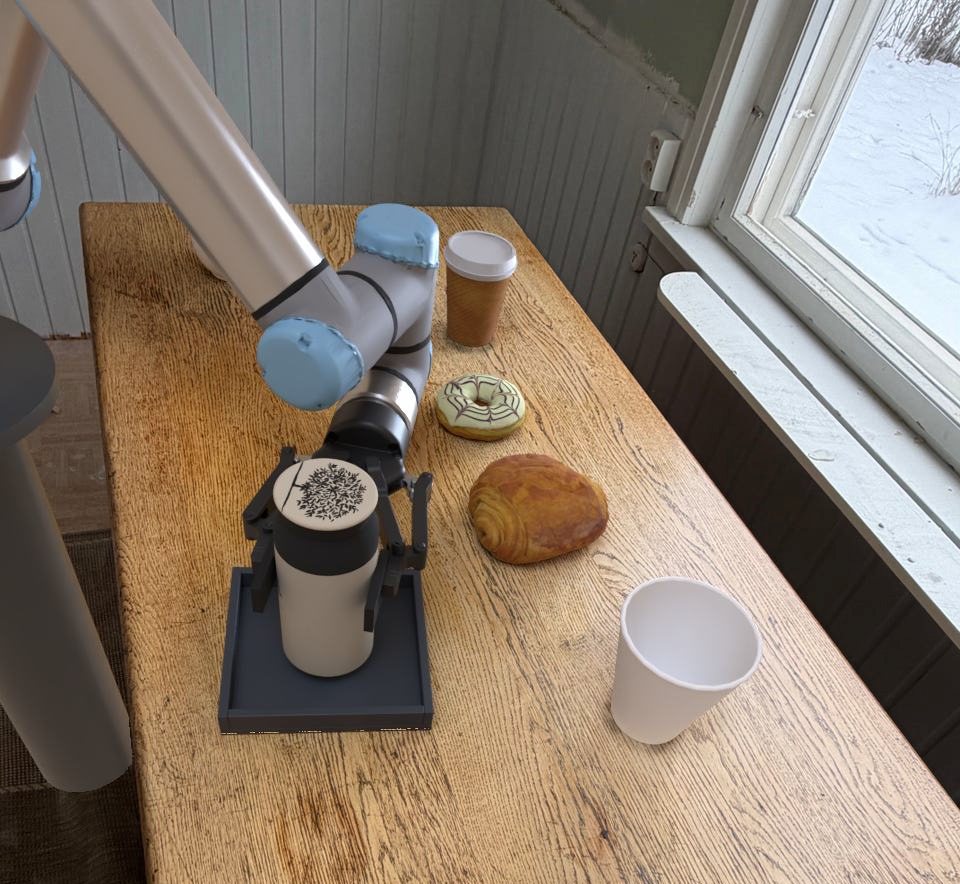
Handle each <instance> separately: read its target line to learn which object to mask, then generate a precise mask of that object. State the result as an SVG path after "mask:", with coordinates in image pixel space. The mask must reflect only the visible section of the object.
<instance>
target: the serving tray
mask: <svg viewBox="0 0 960 884" xmlns="http://www.w3.org/2000/svg"><path fill="white" fill-rule="evenodd" d="M255 575H256V573H253V571H252V566H232V567H231V576H230V577H231V578H230V587H229V597H228V607H227V617H226V619H227V620H226V625H225V626H226V627H225V638H224V647H223V657H222V667H221V668H222V669H221V675H220V677H221V678H220V685H219V686H220V687H219V695H218V696H219V697H218V706H217V715H216V718H217V722H218V726H219V731H220V735H221V736H230V735H231V736H232V735H233V736H234V735H237V736H238V735H270V734H271V735H274V734H275V735H276V734H279V735H280V734H313V733H314V734H318V733H320V734H321V733H322V734H323V733H357V732H359V733H360V732H397V731H398V732H399V731H401V732H403V731H430V730H432V726H433V725H432V724H433V721H434V720H433V719H434V712H435V710H434V700H433V690H432V679H431V677H432V676H431V669H430V657H429V646H428V636H427V635H428V634H427V625H426V624H427V623H426V615H425V603H424V592H423V591H424V590H423V582H422V581H423V580H422V571H417V570H414V569H413V568H406V569H404V570H403V571H402V574H401V578H400V582H399V587H398V591H397V594H396V595H395V596H394V598H391V597H386V596H382V599H381V603H380V607H379V611H378V615H377V619H376V623H375V627H374V637H373V648H372V651H371V653H370V655H369V657H368V658H367V660H366V661H365V662H364V663H363V664H362V665H361V666H359V667H358V668H357V669H355V670H353V671H351V672H349V673H346V674H343V675H339V676H331V677H324V676H316V675H312V674H309V673H306V672H304V671H302V670H300V669H299V668H297V667H296V666H295V665H294V664H292V663H291V661H290V660H289V659H288V658H287V656H286V654H285V652H284V648H283V641H282V630H281V618H280V607H279V595H278V584H277V577H276V580H275V582H274V585H273V588H272V590H271V593H270V595H269V598H268V601H267V603H266V606H265V609H264V611H263V613H257V612H253V607H252V599H251V592H250V588H251V585H252V583H253V580H254V578H255ZM397 728H398V729H400V728H401V729H406V730H381V729H397ZM407 728H411V729H407ZM415 728H418V729H415ZM424 728H426V729H424ZM428 728H429V729H428ZM430 728H431V729H430ZM356 730H357V731H356ZM360 730H364V731H360ZM299 731H300V732H299ZM302 731H303V732H302ZM304 731H306V732H304ZM307 731H321V732H307ZM250 732H255V733H250ZM259 732H260V733H259ZM261 732H263V733H261ZM264 732H279V733H264ZM221 733H226V734H221ZM227 733H237V734H227Z"/></svg>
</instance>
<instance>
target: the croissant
mask: <svg viewBox="0 0 960 884" xmlns="http://www.w3.org/2000/svg"><path fill="white" fill-rule="evenodd" d="M468 495H469V500H468V503H467V509H468V510H469V512H470V516H471V519H472V520H473V521H472V523H473V528H474V529H473V530H474V533H475V534H476V537H477V539H478V540H479V542H480V544H481V546H483V547H484V548H486V550H487V551H488V552H489V553H490V554H492V556H493V558H495V559H498V560H500V561H501V562H505V563H508V564H512V565H516V564H524V563H525V564H530V563H531V564H532V563H536V562H539V561H545V560H549V559H552V558H554V557H557V556H561V555H564V554H567V553H569V552H574V551H577V550H580V549H583V548H585V547H587V546H589V545H590V544H592V543H593V542H595V541H596V540H598V539H599V538H600V537H602V535H603V534H605V532H606V529H607V525H608V521H609V519H610V513H609V508H608V507H609V505H608V497H607V495H606V493H605V491H604V489H603V488H602V486H601V485H600V483H598V482H596V481H592V479H591V478H590V477H588V475H585V474H584V473H581V472H578V471H576V470H574V469H572V467H569V466H567V465H565V464H564V462H562V461H560V460H558V459H556V458H553V457H551V456H549V455H547V454H543V453H542V454H539V453H538V454H537V453H519V454H510V455H506V456H503V457H501V458H499V459H496V460H493V461H492V462H490V463H489V464H487V466H486V467H485V469H484V470H483V471H482V472H481V473H479V475H478V477H477V479H476V480H474V481H473V483H472V486H471V487H470V489H469V494H468Z"/></svg>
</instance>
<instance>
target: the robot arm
mask: <svg viewBox="0 0 960 884" xmlns="http://www.w3.org/2000/svg"><path fill="white" fill-rule="evenodd" d="M50 52H52V53H53V55H54V56H55V58H56V59H57V60H58V61H59V63H60V64H61V65H62V67H63V68H64V70H65V71H66V72H67V73H68V74H69V76H70V77H71V78H72V80H73V82H75V84H76V85H77V86H78V87H79V89H80V90H81V92H82V93H83V95H84V96H85V97H86V98H87V99H88V101H89V102H90V104H91V105H92V106H93V108H94V109H95V110H96V111H97V113H98V114H99V115H100V117H101V118H102V119H103V121H104V122H105V123H106V125H107V126H108V128H109V129H110V130H111V131H112V132H113V134H114V135H115V136H116V138H117V139H118V141H119V142H120V143H121V144H122V147H124V148H125V150H126V151H127V153H128V154H129V155H130V156H131V158H132V159H133V160H134V161H135V163H136V164H137V165H138V167H139V169H140V170H141V171H142V172H143V173H144V175H145V176H146V178H147V179H148V180H149V182H150V183H151V184H152V185H153V187H154V188H155V190H157V192H158V193H159V195H160V196H161V197H162V199H163V200H164V201H165V202H166V204H167V205H168V206H169V208H170V209H171V210H172V212H173V213H174V215H175V216H176V217H177V218H178V220H179V221H180V222H181V224H182V225H183V226H184V228H185V229H186V230H187V232H188V233H189V235H190V234H191V235H192V237H193V238H194V239H195V241H196V242H197V243H198V245H199V246H200V247H201V249H202V250H203V251H204V253H205V254H206V255H207V257H208V258H209V259H210V260H211V262H212V263H213V264H214V266H215V267H216V268H217V270H218V271H219V272H220V274H221V275H222V276H223V278H224V279H225V280H226V281H225V282H226V283H227V284H228V286H229V287H230V289H232V291H233V292H234V293H235V295H236V296H237V298H238V299H239V300H240V302H241V303H242V304H243V306H244V307H245V308H246V310H247V311H248V312H249V314H250V316H251V317H252V319H254V321H255V323H256V324H257V325H258V326H259V328H260V329H261V331H262V332H263V334H262V335H261V337H260V339H259V340H258V343H257V347H256V363H257V364H258V366H259V369H260V370H261V373H262V374H261V377H262V379H263V381H264V383H265V384H266V386H267V387H268V388H269V389H270V391H271V392H272V393H273V394H274V395H275V396H276V397H277V398H278V399H280V400H281V401H282V402H283V403H285V404H286V405H289V406H291V407H293V408H295V409H298V410H300V411H304V412H321V411H323V410H328V409H330V408H332V407H333V406H334V405H336V406H335V410H334V412H333V416H332V418H331V420H330V423H329V426H328V428H327V430H326V433H325V436H324V438H323V441H322V444H321V446H320V447H319V448H318V449H317V450H315V451H314V452H313V453H312V454H311V455H310V454H296V449H295V448H294V447H292V446H290V445H286V446H283V447H282V448H281V449H280V454H279V462H278V464H277V465H276V466H275V468H274V469H273V471H272V472H271V473H270V475H269V476H268V477H267V478H266V480H265V482H264V483H263V484H262V486H261V487H260V488H259V489H258V491H257V492H256V494H255V495H254V497H252V499H251V500H250V501H249V503H248V505H247V506H246V507H245V509H244V510H243V511H242V512H241V513H242V514H241V517H242V518H241V519H242V524H243V525H242V526H243V533H244V538H245V539H246V540H247V541H251V542H252V541H255V543H254V546H253V549H252V551H251V553H250V562H251V567H252V571H253V573H256V575H255V578H254V580H253V583H252V585H251V588H250V592H251V599H252V607H253V612H257V613H263V611H264V609H265V606H266V603H267V601H268V598H269V595H270V593H271V590H272V588H273V585H274V582H275V580H276V577H277V572H276V561H275V549H274V538H273V526H272V522H273V517H274V514H275V512H276V510H277V509H278V508H277V506H276V504H275V501H274V497H273V489H274V485H275V482H276V481H277V479H278V477H279V476H280V475H281V474H282V473H283V472H284V471H285V470H286V469H288V468H289V467H291V466H293V465H295V464H297V463H300V462H303V461H306V460H311V459H323V458H325V459H336V460H341V461H345V462H348V463H351V464H353V465H355V466H357V467H359V468H360V469H362V470H363V471H365V472H366V473H367V474H368V475H369V476H370V477H371V478H372V480H373V481H374V483H375V485H376V487H377V491H378V501H377V504H376V507H375V509H374V511H375V512H376V514H377V516H378V519H379V524H380V528H379V541H380V543H381V546H382V548H380V549H379V552H378V561H377V565H376V568H375V571H374V575H373V578H372V582H371V586H370V589H369V593H368V597H367V601H366V604H365V608H364V628H363V631H365V632H371V633H373V630H374V627H375V623H376V619H377V615H378V611H379V607H380V603H381V599H382V596H386V597H391V598H394V596H395V595H396V594H397V591H398V587H399V582H400V578H401V574H402V571H403V570H404V569H412V570H413V569H414V570H417V571H421V572H422V571H424V570H425V569H426V567H427V561H428V560H427V559H428V552H429V517H428V516H429V515H428V513H429V512H428V505H429V503H430V502H431V499H432V493H433V486H434V475H433V473H431V472H429V471H423V472H421V473H420V474H419V476H417V475H414V474H411V473H407V472H406V468H405V462H406V459H407V454H408V451H409V448H410V442H411V439H412V436H413V433H414V430H415V429H414V428H415V425H416V421H417V417H418V414H419V407H420V405H421V400H422V397H423V394H424V390H425V388H426V384H427V381H428V380H429V377H430V375H431V370H432V363H433V344H432V336H431V335H432V324H433V315H434V305H435V296H436V287H437V278H438V269H440V262H439V258H440V257H439V254H440V253H439V252H440V231H439V227H438V225H437V223H436V222H435V221H434V220H433V218H432V217H431V216H430V215H428V214H427V213H426V212H424V211H422V210H420V209H418V208H415V207H413V206H409V205H406V204H402V203H391V202H390V203H389V202H388V203H377V204H372V205H370V206H368V207H366V208H364V209H363V210H362V211H360V213H359V214H358V216H357V218H356V220H355V227H354V236H353V238H352V244H353V251H354V252H353V255H352V257H351V258H350V259H348V260H347V261H346V262H345V263H344V264H343V265H341V266H340V267H339V268H338V269H337V270H335V268H334V267H333V266H332V264H331V263H330V262H329V261H328V259H327V258H326V257H325V256H324V253H323V252H322V251H321V249H320V247H319V246H318V245H317V243H316V242H315V240H314V239H313V237H312V236H311V234H310V233H309V231H308V230H307V228H306V227H305V226H304V224H303V223H302V221H301V219H300V217H298V215H297V214H296V212H295V210H294V209H293V208H292V206H291V205H290V204H289V203H290V202H288V200H287V199H286V197H285V196H284V194H283V193H282V191H281V190H280V189H279V187H278V186H277V184H276V182H275V181H274V180H273V178H272V177H271V175H270V174H269V172H268V171H267V169H266V168H265V166H264V165H263V163H262V162H261V160H260V159H259V157H258V156H257V154H256V153H255V151H254V150H253V148H252V147H251V145H249V142H248V141H247V140H246V138H245V137H244V135H243V134H242V132H241V131H240V129H239V127H237V124H235V122H234V120H233V119H232V117H231V116H230V115H229V112H228V111H227V110H226V108H225V107H224V105H223V104H222V103H221V101H220V99H219V98H218V96H217V95H216V94H215V92H214V91H213V89H212V88H211V86H210V85H209V83H208V82H207V81H206V79H205V77H204V76H203V74H202V73H201V72H200V70H199V68H198V67H197V66H196V64H195V63H194V61H193V59H192V58H191V56H190V55H189V54H188V52H187V50H186V49H185V48H184V46H183V45H182V43H181V42H180V40H179V39H178V38H177V36H176V34H175V33H174V31H173V30H172V29H171V28H170V26H169V24H168V23H167V21H166V20H165V19H164V16H163V15H162V14H161V12H160V11H159V9H158V8H157V7H156V5H155V3H154V2H153V0H0V233H3V232H7V231H8V230H11V229H13V228H14V227H15V226H16V225H19V224H21V222H22V221H23V220H24V219H25V218H26V217H28V216H29V215H31V214H32V212H33V211H34V210H35V208H36V207H37V205H38V203H39V200H40V196H41V190H42V178H41V172H40V171H39V170H38V169H37V168H36V167H35V165H34V164H36V163H37V158H36V155H35V153H34V150H33V148H32V146H31V144H30V141H29V138H28V135H27V133H26V132H25V130H24V128H25V126H26V123H27V119H28V116H29V114H30V111H31V108H32V105H33V102H34V99H35V96H36V94H37V91H38V87H39V85H40V82H41V80H42V79H41V78H42V76H43V74H44V70H45V67H46V65H47V61H48V58H49V56H50ZM336 403H337V404H336ZM402 489H404V490H405V491H406V493H405V494H406V497H407V498H408V501H409V502H410V503H411V513H410V518H411V519H410V523H411V526H410V527H411V528H410V529H411V530H410V531H411V534H410V535H411V537H410V538H411V539H410V540H411V543H410V544H409V545H407V544H406V543H407V539H404V538H403V535H402V532H401V529H400V527H399V523H398V520H397V517H396V515H395V512H394V508H393V506H392V502H391V499H390V496H392V495H393V494H395V493H396V492H398V491H400V490H402Z"/></svg>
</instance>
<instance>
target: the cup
mask: <svg viewBox="0 0 960 884" xmlns="http://www.w3.org/2000/svg"><path fill="white" fill-rule="evenodd" d="M760 633H761V632H760V630H759V627H758V625H757V623H756V622H755V621H754V619H753V617H752V615H751V614H750V612H749V611H747V609H746V608H745V607H744V606H743V605H741V604H740V602H739V601H738V600H737V599H735V598H734V597H733V596H731V595H730V594H729V593H726V592H725V591H724V590H723V589H721V588H718V587H716V586H715V585H712V584H709V583H708V582H706V581H702V580H698V579H695V578H691V577H687V576H673V575H671V576H670V575H669V576H661V577H654V578H651V579H649V580H646V581H644V582H642V583H639V584H638V585H637V586H636V587H634V588H633V589H632V590H631V591H629V593H628V594H627V595H626V597H625V599H624V601H623V603H622V604H621V606H620V614H619V632H618V641H617V648H616V649H617V650H616V658H615V659H616V660H615V667H614V675H613V684H612V692H611V702H610V712H611V717H612V718H613V720H614V724H616V726H617V727H618V728H619V730H620V731H621V732H622V733H624V734H625V735H626V736H627V737H628V738H630V739H632V740H634V741H636V742H638V743H642V744H646V745H654V746H655V745H656V746H657V745H662V744H667V743H669V742H670V741H672V740H674V739H676V737H677V736H678V735H680V734H682V733H683V732H684V731H686V729H688V728H689V727H690V726H691V725H693V724H694V723H695V722H696V721H698V720H699V719H700V718H701V717H702V716H704V715H705V714H706V713H708V712H709V711H710V710H711V709H712V708H714V707H715V706H716V705H717V704H718V703H720V702H721V701H722V700H724V699H725V698H726V697H727V696H728V695H730V694H731V693H733V692H734V691H735V690H736V689H737V688H739V686H741V685H743V684H745V683H746V682H748V681H749V680H750V679H751V678H752V677H753V676H754V674H755V673H756V672H757V671H758V669H759V667H760V664H761V661H762V659H763V639H762V636H761V634H760Z"/></svg>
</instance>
